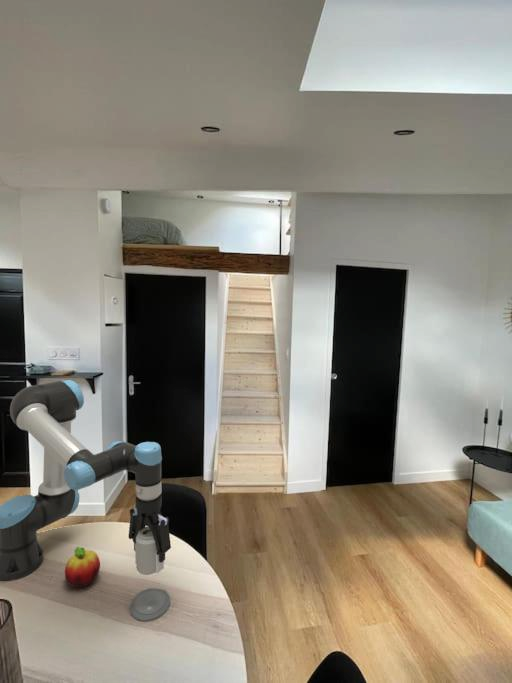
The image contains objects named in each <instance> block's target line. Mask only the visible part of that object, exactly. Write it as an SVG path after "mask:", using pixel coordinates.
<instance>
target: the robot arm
mask: <svg viewBox="0 0 512 683" xmlns="http://www.w3.org/2000/svg"><path fill="white" fill-rule="evenodd" d="M84 402H85V397H84V394H83V391H82V389H81V387H80V386H79V384H78V383H77V382H76V381H74V380H71V379H67V380H65V379H64V380H57V381H52V382H46V383H41V384H37V385H36V384H35V385H34V384H33V385H30V386H26V387H24V388H23V389H21V390H19V391H18V392H17V393H16V394H15V396H14V397H13V398H12V400H11V402H10V406H9V413H10V419H12V421H13V423H14V424H15V426H16V427H18V428H19V429H20V430H22V431H27V432H28V433H29V434H30V435H31V436H32V438H34V439H35V440H36V441H37V442H38V443H39V444H40V445H41V446H42V447H43V472H42V473H43V476H42V478H43V479H42V483H40V484H39V486H38V487H37V488H38V489H37V490H38V492H37V494H36V495H33V494H32V495H31V494H22V495H17V496H14V497H12V498H10V499H8V500H6V501H4V502H3V503H2V504H1V505H0V581H3V580H8V581H13V579H14V580H18V579H21V578H24V577H26V576H28V575H29V574H31V572H32V573H33V572H35V571H36V570H37V569H38V568H40V566H41V565H42V563H43V561H44V551H43V549H42V546H41V545H40V543H39V540H38V536H37V533H38V532H37V531H39V530H41V529H43V528H46V527H47V526H50V525H51V524H53V523H55V522H58V521H60V520H62V519H65V518H67V517H68V516H70V515H71V514H73V513H74V512H75V511H76V510H77V508H78V506H79V503H80V492H79V490H81V489H85V488H88V487H90V486H92V485H94V484H96V483H99V482H100V481H103V480H105V479H107V478H109V477H112V476H114V475H117V474H119V473H121V472H123V471H127V472H129V473H133V474H134V476H135V480H134V482H135V506H134V507H132V508H130V509H129V516H130V518H129V519H130V520H129V527H128V528H129V530H128V539H129V540H131V539H132V542H133V550H134V552H135V562H136V537H137V535H138V532H139V531H140V530H142V529H143V528H144V527H147V526H149V529H150V531H152V534H153V537H154V540H155V544H156V547H157V552H156V572H155V574H159V573H160V572H161V571H162V570H164V569H165V562H164V561H165V560H166V553H167V552H169V550H171V548H172V545H171V536H170V528H169V523H170V518H169V517H168V516H166V517H164V516H163V515H162V512H161V508H162V504H163V502H162V495H163V494H162V492H163V491H162V461H163V456H162V448H161V447H162V446H161V445H160V444H159V443H158V442H155V441H145V442H140V443H139V444H137V445H135V444H132V443H129V442H125V441H120V440H119V441H118V440H117V441H114V442H112V443H111V444H110V445H109V446H108V447H107V449H106V450H104V451H101V452H98V453H95V454H94V453H92V452H91V451H90V450H89V449H88V448H87V447H86V446H84V445H83V444H82V443H81V442H80V441H79V440H78V439H77V438H76V437H75V436H73V434H72V422H73V421H74V420H76V417H77V411H79V410H81V409H82V408H83V406H84V404H85V403H84ZM23 576H24V577H23ZM20 577H21V578H20ZM17 578H18V579H17ZM11 579H12V580H11Z"/></svg>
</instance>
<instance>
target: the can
mask: <svg viewBox="0 0 512 683" xmlns="http://www.w3.org/2000/svg"><path fill="white" fill-rule="evenodd" d="M156 552H157V547H156V544H155V540H154V537H153V534H152V531H150V529H149V526H147V525H146V526H145V527H144V528H143V529H142V530H140V531H139V532H138V535H137V537H136V561H135V564H136V571H137V573H140V574H142V575H143V576H149V575H153V574H154V573H155V574H156Z"/></svg>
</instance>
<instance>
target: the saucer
mask: <svg viewBox="0 0 512 683" xmlns="http://www.w3.org/2000/svg"><path fill="white" fill-rule="evenodd" d="M170 605H171V597H170V595H169V593H168V591H166V590H165V589H162V588H155V587H152V588H148V589H144V590H142V591H140V592H139V593H137V594H136V595H135V596H134V597H133V598H132V600H131V601H130V603H129V613H130V616H131V617H132V618H133V619H134V620H137V621H139V622H151V621H152V622H153V621H155V620H157V619H159V618H161V617H162V616H164V614H166V612H167V611H168V610H169V608H170V607H171V606H170Z"/></svg>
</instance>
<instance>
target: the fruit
mask: <svg viewBox="0 0 512 683" xmlns="http://www.w3.org/2000/svg"><path fill="white" fill-rule="evenodd" d="M73 551H74V552H73V553H74V554H73V555H72V556H71V557H70V558H69V560H68V561H67V563H66V566H65V569H64V577H65V579H66V582H67V583H68V584H69V585H70V586H71V587H74V588H84V587H86V586H88V585H90V584H91V583H92V582H94V581H95V579H96V578H97V576H98V575H99V572H100V568H101V561H100V558H99V555H98V554H97V552H95V551H94V550H90V549H87V550H86V549H85V548H84V547H80V546H77V547H76V548H75V549H74V550H73Z"/></svg>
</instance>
